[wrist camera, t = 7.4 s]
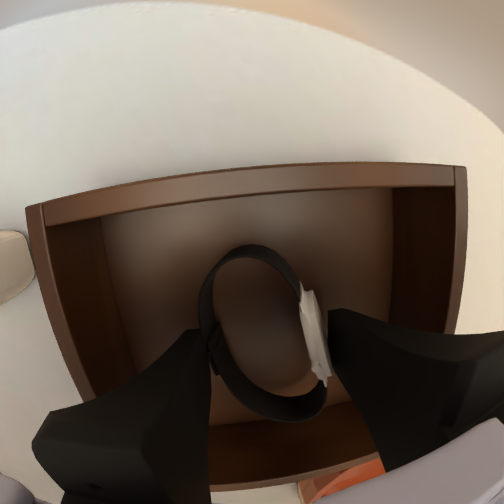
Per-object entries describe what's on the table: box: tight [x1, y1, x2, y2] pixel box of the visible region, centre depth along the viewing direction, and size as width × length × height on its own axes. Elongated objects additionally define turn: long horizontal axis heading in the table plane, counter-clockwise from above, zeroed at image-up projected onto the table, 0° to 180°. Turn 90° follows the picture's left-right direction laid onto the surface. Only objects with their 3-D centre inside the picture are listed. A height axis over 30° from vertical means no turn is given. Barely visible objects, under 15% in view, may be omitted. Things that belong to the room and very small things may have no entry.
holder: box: [25, 162, 468, 492], centre depth 10 cm, size 13×12×4 cm
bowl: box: [298, 458, 386, 504], centre depth 15 cm, size 13×13×3 cm
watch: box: [198, 244, 333, 423], centre depth 10 cm, size 8×5×4 cm, turn 20°
